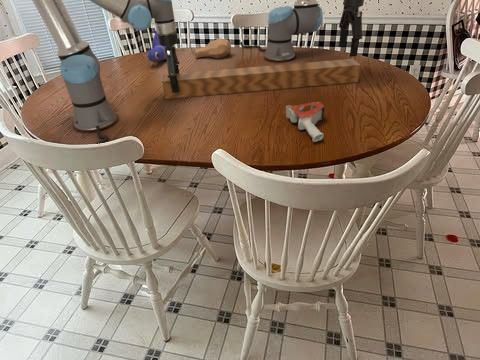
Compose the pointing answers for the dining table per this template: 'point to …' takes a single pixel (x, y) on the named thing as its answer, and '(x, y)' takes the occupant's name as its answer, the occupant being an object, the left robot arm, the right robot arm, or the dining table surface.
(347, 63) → the thick board
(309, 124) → the tape dispenser
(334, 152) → the dining table surface
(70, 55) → the left robot arm
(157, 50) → the toy
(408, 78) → the dining table surface
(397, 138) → the dining table surface
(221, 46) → the squash
